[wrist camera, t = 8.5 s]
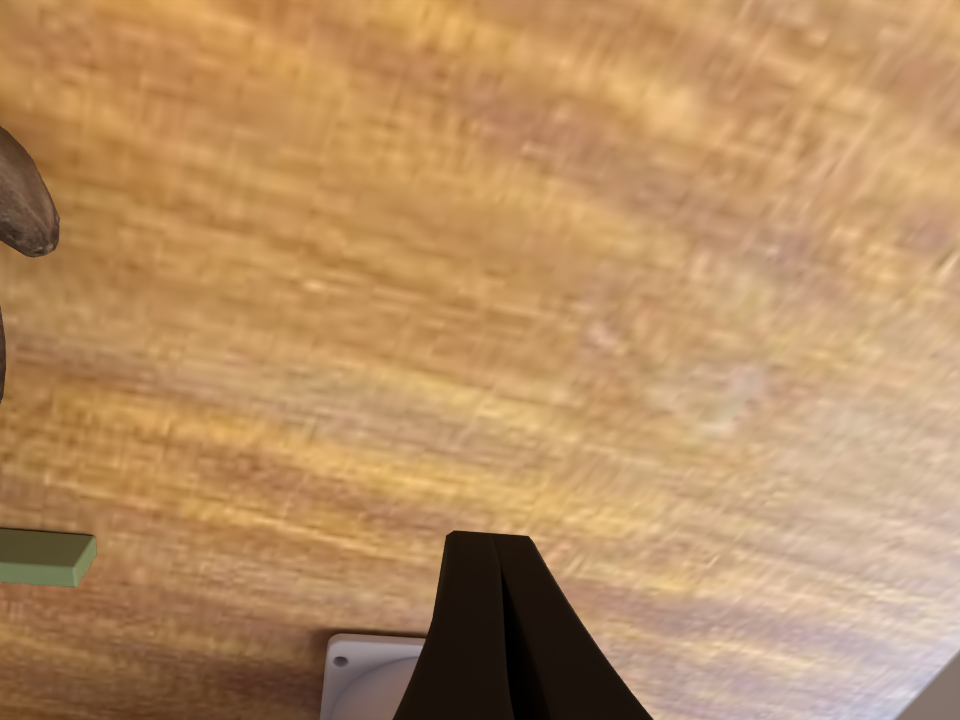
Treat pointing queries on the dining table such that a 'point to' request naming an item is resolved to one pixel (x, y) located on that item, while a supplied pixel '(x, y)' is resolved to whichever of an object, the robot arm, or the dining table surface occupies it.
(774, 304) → the dining table surface
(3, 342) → the mechanical counter
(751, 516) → the dining table surface
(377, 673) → the robot arm
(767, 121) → the dining table surface
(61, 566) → the bay
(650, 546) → the dining table surface
